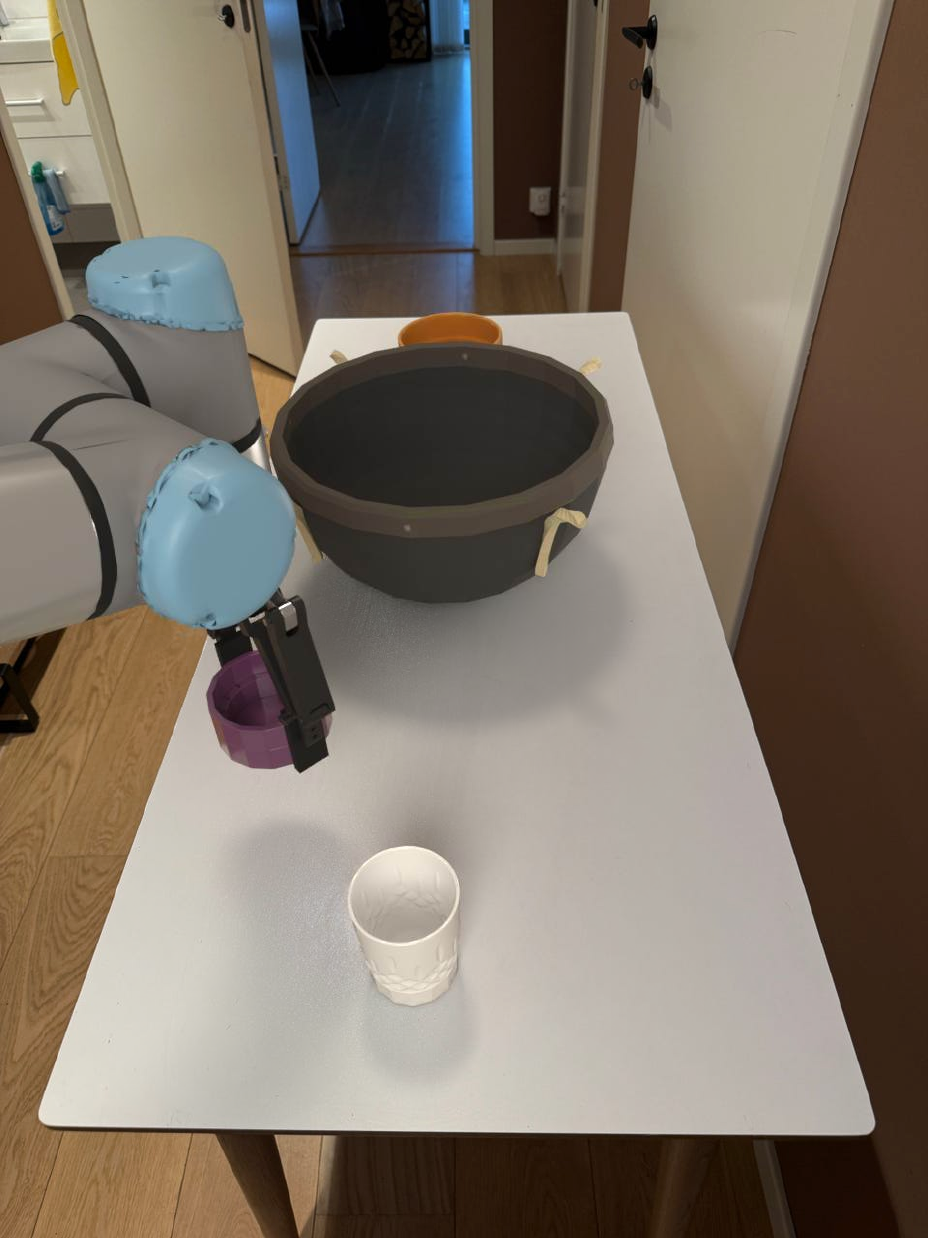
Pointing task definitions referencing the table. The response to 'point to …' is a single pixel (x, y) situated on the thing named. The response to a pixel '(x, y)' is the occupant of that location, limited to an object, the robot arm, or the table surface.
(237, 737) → the plum dish
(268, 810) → the table surface
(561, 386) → the bowl
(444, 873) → the white cup
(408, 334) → the flower pot
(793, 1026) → the table surface
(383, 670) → the table surface
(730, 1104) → the table surface
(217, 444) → the robot arm
